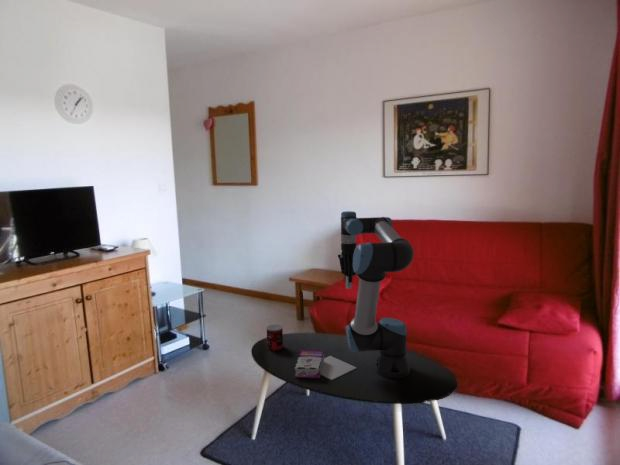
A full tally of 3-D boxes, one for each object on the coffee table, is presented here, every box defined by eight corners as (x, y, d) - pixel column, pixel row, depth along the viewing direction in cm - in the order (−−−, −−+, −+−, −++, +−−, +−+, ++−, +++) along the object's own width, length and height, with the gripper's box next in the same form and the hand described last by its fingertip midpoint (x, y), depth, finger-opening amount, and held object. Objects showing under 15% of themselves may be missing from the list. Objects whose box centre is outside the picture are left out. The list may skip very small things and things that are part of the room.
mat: (356, 368, 198) (356, 367, 198) (331, 380, 188) (331, 379, 188) (330, 356, 211) (330, 355, 211) (305, 367, 200) (305, 366, 200)
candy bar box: (301, 359, 207) (294, 377, 191) (300, 349, 206) (293, 367, 190) (324, 360, 205) (319, 378, 189) (324, 350, 204) (319, 368, 188)
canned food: (267, 345, 225) (266, 324, 223) (282, 344, 226) (282, 324, 224) (267, 351, 217) (266, 330, 216) (283, 350, 218) (282, 329, 217)
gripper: (363, 243, 215) (363, 289, 219) (344, 239, 225) (344, 284, 229) (353, 245, 210) (353, 292, 214) (333, 241, 220) (334, 287, 224)
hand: (348, 288), depth 221 cm, fingers closed
